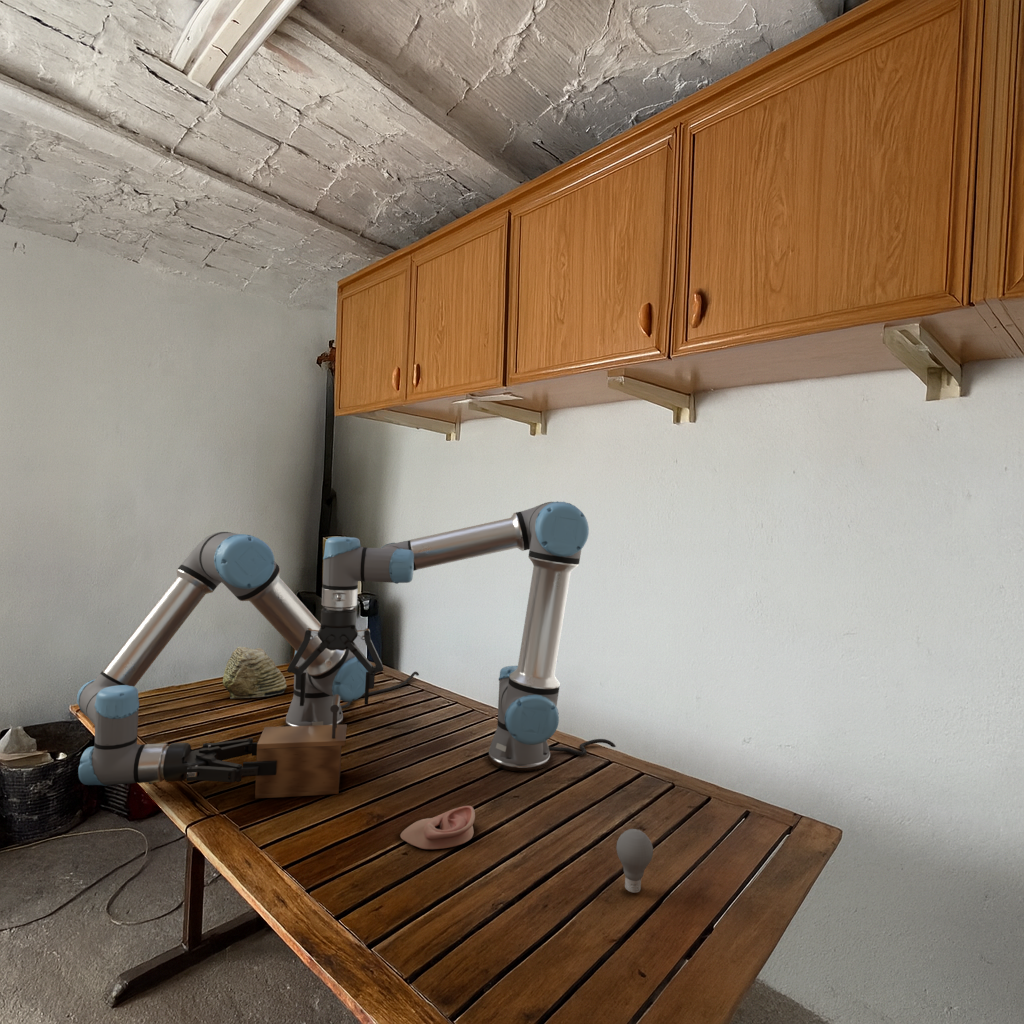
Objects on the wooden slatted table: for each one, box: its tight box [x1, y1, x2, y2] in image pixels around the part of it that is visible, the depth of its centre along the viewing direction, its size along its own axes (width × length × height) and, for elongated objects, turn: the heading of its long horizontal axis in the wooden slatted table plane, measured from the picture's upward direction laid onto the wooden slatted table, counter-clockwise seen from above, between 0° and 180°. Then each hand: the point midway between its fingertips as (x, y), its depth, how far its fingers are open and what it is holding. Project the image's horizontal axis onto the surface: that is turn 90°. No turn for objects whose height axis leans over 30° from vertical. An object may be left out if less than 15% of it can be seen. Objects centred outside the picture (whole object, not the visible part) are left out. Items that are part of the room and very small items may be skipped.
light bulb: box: [615, 828, 654, 894], centre depth 106 cm, size 6×6×10 cm
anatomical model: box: [399, 805, 476, 850], centre depth 121 cm, size 13×4×12 cm
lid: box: [257, 694, 348, 749], centre depth 138 cm, size 18×10×8 cm, turn 103°
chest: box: [254, 746, 342, 800], centre depth 138 cm, size 17×10×10 cm, turn 103°
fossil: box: [222, 646, 288, 699], centre depth 198 cm, size 9×18×15 cm, turn 132°
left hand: (279, 757), depth 137 cm, fingers closed on chest, 10 cm apart
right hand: (334, 703), depth 139 cm, fingers open, 13 cm apart
